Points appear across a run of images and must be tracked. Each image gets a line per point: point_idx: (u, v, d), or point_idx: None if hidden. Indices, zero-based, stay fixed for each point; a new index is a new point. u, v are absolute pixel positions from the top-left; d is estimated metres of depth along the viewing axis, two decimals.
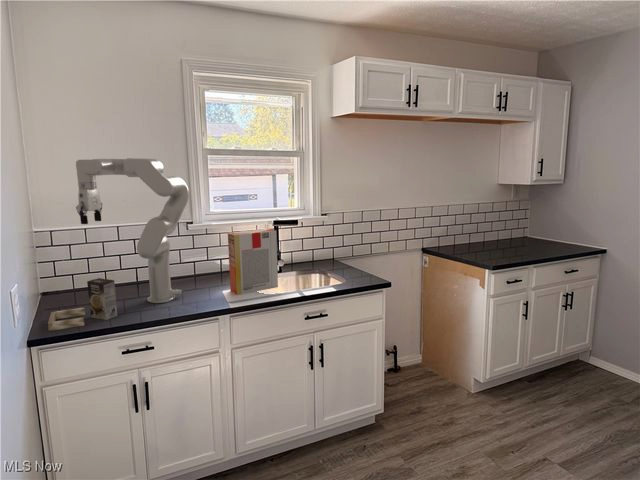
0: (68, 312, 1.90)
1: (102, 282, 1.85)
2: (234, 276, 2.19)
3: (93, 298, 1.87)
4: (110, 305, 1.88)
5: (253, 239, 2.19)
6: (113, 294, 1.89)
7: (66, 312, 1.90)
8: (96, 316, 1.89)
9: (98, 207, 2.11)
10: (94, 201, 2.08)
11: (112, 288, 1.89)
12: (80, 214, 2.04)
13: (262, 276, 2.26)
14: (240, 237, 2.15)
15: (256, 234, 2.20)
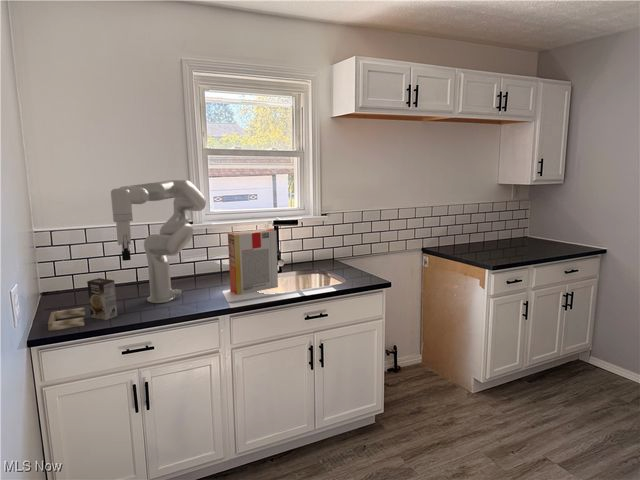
0: (68, 312, 1.90)
1: (102, 282, 1.85)
2: (234, 276, 2.19)
3: (93, 298, 1.87)
4: (110, 305, 1.88)
5: (253, 239, 2.19)
6: (113, 294, 1.89)
7: (66, 312, 1.90)
8: (96, 316, 1.89)
9: None
10: None
11: (112, 288, 1.89)
12: None
13: (262, 276, 2.26)
14: (240, 237, 2.15)
15: (256, 234, 2.20)
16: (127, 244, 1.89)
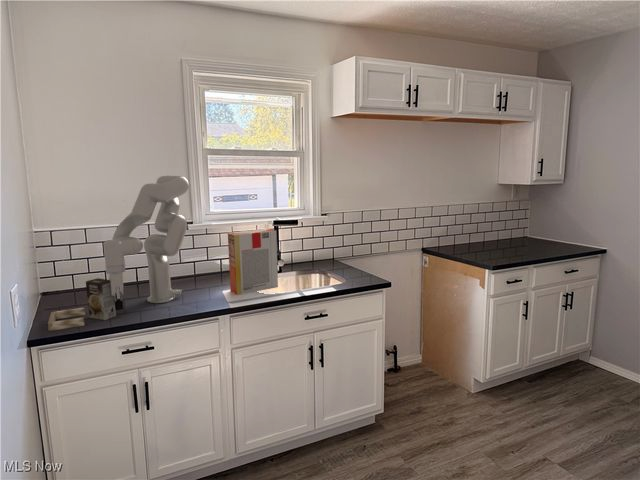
0: (68, 312, 1.90)
1: (100, 282, 1.85)
2: (234, 276, 2.19)
3: (91, 299, 1.87)
4: (109, 305, 1.88)
5: (253, 239, 2.19)
6: None
7: (66, 312, 1.90)
8: (95, 316, 1.88)
9: None
10: None
11: None
12: None
13: (262, 276, 2.26)
14: (240, 237, 2.15)
15: (256, 234, 2.20)
16: (120, 294, 1.91)
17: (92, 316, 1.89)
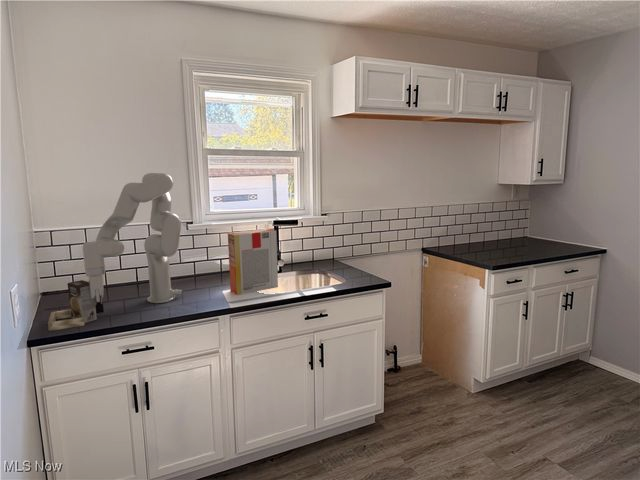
0: (68, 312, 1.90)
1: (79, 285, 1.82)
2: (234, 276, 2.19)
3: (72, 301, 1.84)
4: (88, 308, 1.84)
5: (253, 239, 2.19)
6: None
7: (66, 312, 1.90)
8: None
9: None
10: None
11: None
12: None
13: (262, 276, 2.26)
14: (240, 237, 2.15)
15: (256, 234, 2.20)
16: (100, 297, 1.87)
17: (73, 318, 1.87)
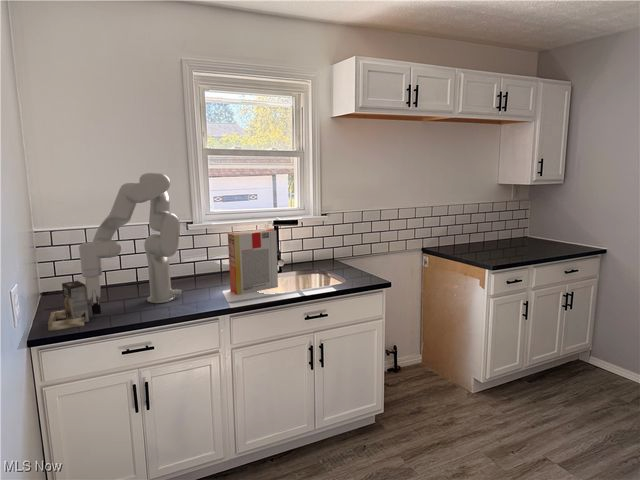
0: None
1: (71, 286, 1.81)
2: (234, 276, 2.19)
3: (65, 301, 1.84)
4: (80, 310, 1.83)
5: (253, 239, 2.19)
6: (83, 299, 1.83)
7: None
8: None
9: None
10: None
11: (82, 292, 1.83)
12: None
13: (262, 276, 2.26)
14: (240, 237, 2.15)
15: (256, 234, 2.20)
16: (97, 298, 1.87)
17: (67, 319, 1.86)
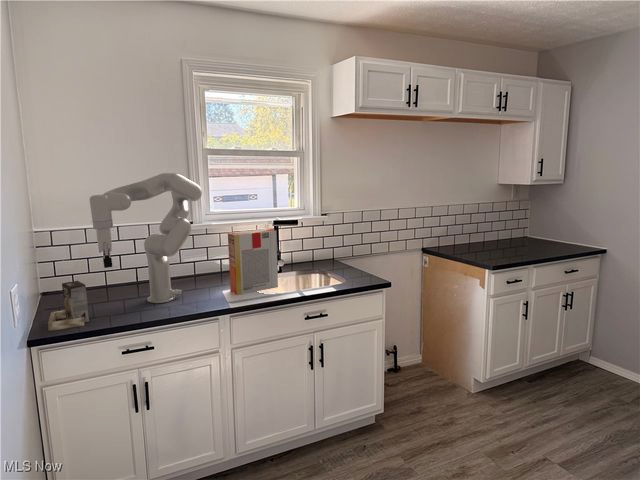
0: None
1: (71, 286, 1.81)
2: (234, 276, 2.19)
3: (65, 301, 1.84)
4: (80, 310, 1.83)
5: (253, 239, 2.19)
6: (83, 299, 1.83)
7: None
8: None
9: None
10: (97, 241, 1.85)
11: (82, 292, 1.83)
12: None
13: (262, 276, 2.26)
14: (240, 237, 2.15)
15: (256, 234, 2.20)
16: (108, 251, 1.86)
17: (67, 319, 1.86)
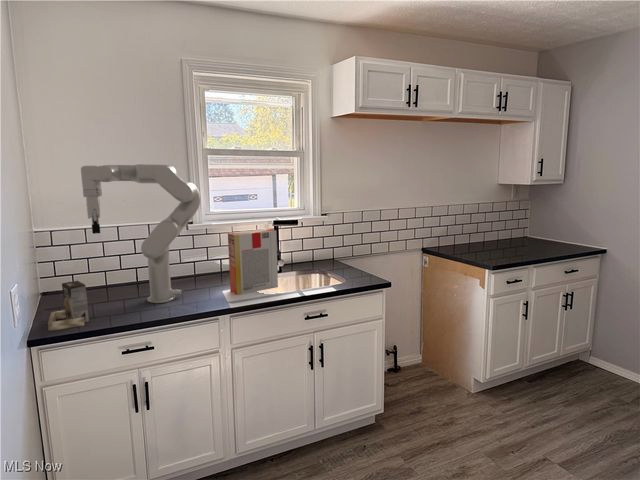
0: None
1: (71, 286, 1.81)
2: (234, 276, 2.19)
3: (65, 301, 1.84)
4: (80, 310, 1.83)
5: (253, 239, 2.19)
6: (83, 299, 1.83)
7: None
8: None
9: None
10: None
11: (82, 293, 1.83)
12: None
13: (262, 276, 2.26)
14: (240, 237, 2.15)
15: (256, 234, 2.20)
16: (97, 218, 2.02)
17: (67, 319, 1.86)
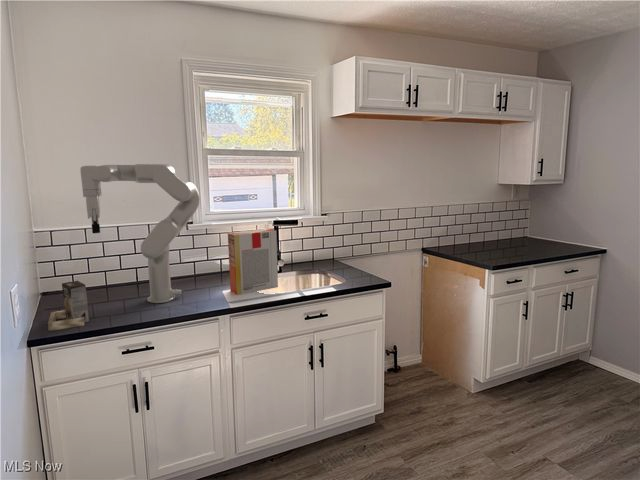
0: None
1: (71, 286, 1.81)
2: (234, 276, 2.19)
3: (65, 301, 1.84)
4: (80, 310, 1.83)
5: (253, 239, 2.19)
6: (83, 299, 1.83)
7: None
8: None
9: None
10: None
11: (82, 292, 1.83)
12: None
13: (262, 276, 2.26)
14: (240, 237, 2.15)
15: (256, 234, 2.20)
16: (96, 218, 2.02)
17: (67, 319, 1.86)
